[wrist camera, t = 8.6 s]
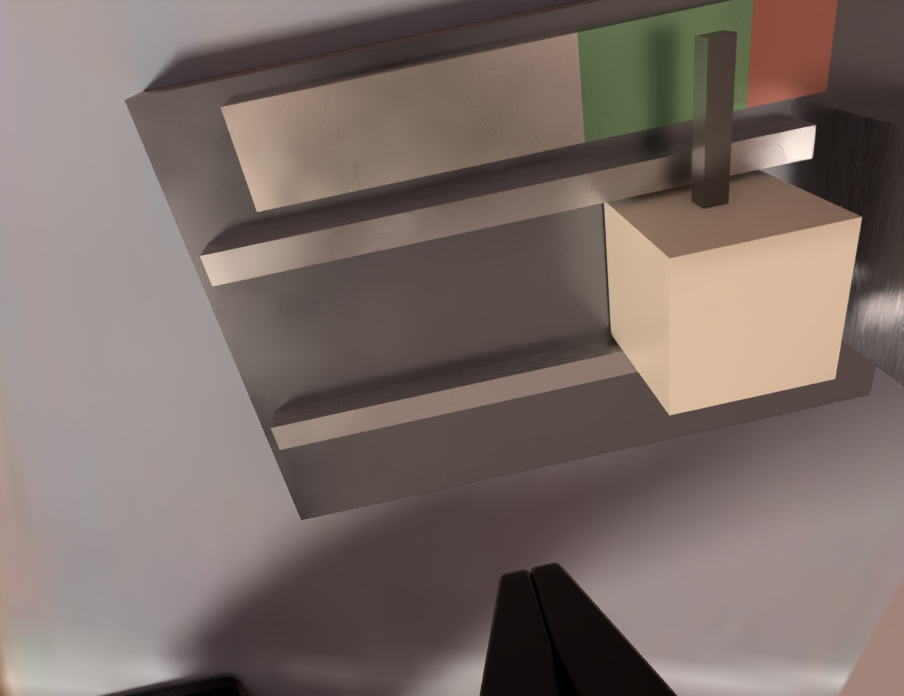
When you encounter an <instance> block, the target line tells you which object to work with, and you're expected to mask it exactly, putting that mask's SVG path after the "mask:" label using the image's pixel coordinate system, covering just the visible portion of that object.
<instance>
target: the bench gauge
mask: <svg viewBox="0 0 904 696" xmlns="http://www.w3.org/2000/svg"><path fill="white" fill-rule="evenodd" d="M721 30H726V31H735V32H737V47H736V66H735V85H734V105H733V124H732V144H731V163H730V176H731V175H736V174H741V173H745V172H750V171H755V170H761V171H763V172H766V173H768V174H770V175H772V176H774V177H776V178H779V179H781V180H783V181H785V182H787V183H789V184H792V185H794V186H796V187H798V188H800V189H803V190H805V191H807V192H809V193H811V194H813V195H816V196H818V197H820V198H822V199H824V200H826V201H829V202H831V203H833V204H835V205H837V206H839V207H842V208H844V209H846V210H848V211H850V212H853V213H855V214H857V215H859V216H861V217H862V220H861V226H860V233H859V239H858V245H857V251H856V257H855V263H854V269H853V275H852V281H851V287H850V293H849V299H848V305H847V311H846V317H845V323H844V329H843V335H842V341H841V347H840V353H839V359H838V365H837V371H836V377H835V379H833V380H828V381H824V382H819V383H815V384H810V385H805V386H801V387H796V388H792V389H787V390H783V391H778V392H774V393H769V394H765V395H760V396H755V397H751V398H746V399H742V400H737V401H733V402H728V403H724V404H719V405H715V406H710V407H706V408H701V409H696V410H692V411H687V412H683V413H678V414H674V415H669V414H668V413H667V411H666V410H665V409H664V407H663V406H662V404H661V403H660V402H659V400H658V399H657V397H656V396H655V395H654V393H653V392H652V390H651V389H650V388H649V386H648V385H647V383H646V382H645V381H644V379H643V378H642V376H641V375H640V374H639V372H638V371H637V369H636V368H635V367H634V365H633V364H632V362H631V361H630V360H629V358H628V357H627V356H626V354H625V353H624V351H623V350H622V349H621V347H620V346H619V344H618V343H617V342H616V340H615V339H614V337H613V336H612V335H611V322H610V303H609V285H608V266H607V247H606V228H605V210H604V203H605V202H610V201H615V200H619V199H624V198H629V197H633V196H638V195H643V194H647V193H652V192H657V191H661V190H666V189H671V188H675V187H680V186H685V185H689V184H692V148H693V98H694V48H695V36H697V35H702V34H706V33H711V32H716V31H721ZM125 102H126V104H127V107H128V109H129V111H130V114H131V116H132V119H133V121H134V123H135V126H136V128H137V130H138V133H139V135H140V138H141V140H142V142H143V145H144V147H145V150H146V152H147V154H148V157H149V159H150V161H151V164H152V166H153V169H154V171H155V173H156V176H157V178H158V180H159V183H160V185H161V188H162V190H163V192H164V195H165V197H166V199H167V202H168V204H169V207H170V209H171V211H172V214H173V216H174V218H175V221H176V223H177V226H178V228H179V230H180V233H181V235H182V237H183V240H184V242H185V245H186V247H187V249H188V252H189V254H190V256H191V259H192V261H193V264H194V266H195V268H196V271H197V273H198V276H199V278H200V280H201V283H202V285H203V287H204V290H205V292H206V295H207V297H208V299H209V302H210V304H211V306H212V309H213V311H214V314H215V316H216V318H217V321H218V323H219V325H220V328H221V330H222V333H223V335H224V337H225V340H226V342H227V344H228V347H229V349H230V352H231V354H232V356H233V359H234V361H235V363H236V366H237V368H238V371H239V373H240V375H241V378H242V380H243V382H244V385H245V387H246V390H247V392H248V394H249V397H250V399H251V402H252V404H253V406H254V409H255V411H256V413H257V416H258V418H259V421H260V423H261V425H262V428H263V430H264V432H265V435H266V437H267V440H268V442H269V444H270V447H271V449H272V451H273V454H274V456H275V459H276V461H277V463H278V466H279V468H280V470H281V473H282V475H283V478H284V480H285V482H286V485H287V487H288V489H289V492H290V494H291V497H292V499H293V501H294V504H295V506H296V508H297V511H298V513H299V516H300V518H301V520H304V519H309V518H313V517H318V516H322V515H327V514H331V513H336V512H341V511H345V510H350V509H354V508H359V507H363V506H368V505H372V504H377V503H381V502H386V501H390V500H395V499H399V498H404V497H408V496H413V495H418V494H422V493H427V492H431V491H436V490H440V489H445V488H449V487H454V486H458V485H463V484H467V483H472V482H476V481H481V480H485V479H490V478H495V477H499V476H504V475H508V474H513V473H517V472H522V471H526V470H531V469H535V468H540V467H544V466H549V465H553V464H558V463H562V462H567V461H571V460H576V459H581V458H585V457H590V456H594V455H599V454H603V453H608V452H612V451H617V450H621V449H626V448H630V447H635V446H639V445H644V444H648V443H653V442H658V441H662V440H667V439H671V438H676V437H680V436H685V435H689V434H694V433H698V432H703V431H707V430H712V429H716V428H721V427H725V426H730V425H735V424H739V423H744V422H748V421H753V420H757V419H762V418H766V417H771V416H775V415H780V414H784V413H789V412H793V411H798V410H802V409H807V408H811V407H816V406H821V405H825V404H830V403H834V402H839V401H843V400H848V399H852V398H857V397H861V396H866V395H870V390H871V385H872V380H873V375H874V370H875V365H876V366H878V367H879V368H880V369H882V370H883V371H884V372H886V373H887V374H888V375H890V376H891V377H893V378H894V379H895V380H897V381H898V382H899V383H901V384H902V385H903V386H904V0H582V1H577V2H572V3H567V4H562V5H558V6H553V7H548V8H543V9H538V10H534V11H529V12H524V13H519V14H514V15H510V16H505V17H500V18H495V19H490V20H486V21H481V22H476V23H471V24H466V25H462V26H457V27H452V28H447V29H442V30H438V31H433V32H428V33H423V34H418V35H414V36H409V37H404V38H399V39H394V40H390V41H385V42H380V43H375V44H370V45H366V46H361V47H356V48H351V49H346V50H342V51H337V52H332V53H327V54H322V55H318V56H313V57H308V58H303V59H298V60H294V61H289V62H284V63H279V64H274V65H270V66H265V67H260V68H255V69H250V70H246V71H241V72H236V73H231V74H226V75H222V76H217V77H212V78H207V79H202V80H198V81H193V82H188V83H183V84H178V85H174V86H169V87H164V88H159V89H154V90H150V91H145V92H141V93H139V94H137V95H134V96H132V97H130V98H128V99H126V100H125Z"/></svg>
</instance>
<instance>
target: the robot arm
mask: <svg viewBox="0 0 904 696" xmlns="http://www.w3.org/2000/svg"><path fill="white" fill-rule="evenodd" d="M144 696H249V695H248V694H247V692H246V690H245V689H244V687H243V685H242V684H241V682H240V681H239V680H238V679H236V678H233V677H224V678H219V679H215V680H210V681H206V682H202V683H197V684H193V685H188V686H184V687H179V688H175V689H170V690H166V691H161V692H157V693H153V694H148V695H144ZM480 696H677V695H676V694H675V692H674V691H673V690H672V689H671V688H670V687H669V686H668V685H667V684H666V682H665V681H664V680H663V679H662V678H661V677H660V676H659V675H658V673H657V672H656V671H655V670H654V669H653V668H652V667H651V666H650V664H649V663H648V662H647V661H646V660H645V659H644V658H643V657H642V655H641V654H640V653H639V652H638V651H637V650H636V649H635V648H634V647H633V645H632V644H631V643H630V642H629V641H628V640H627V639H626V638H625V636H624V635H623V634H622V633H621V632H620V631H619V630H618V629H617V627H616V626H615V625H614V624H613V623H612V622H611V621H610V620H609V619H608V617H607V616H606V615H605V614H604V613H603V612H602V611H601V610H600V608H599V607H598V606H597V605H596V604H595V603H594V602H593V601H592V599H591V598H590V597H589V596H588V595H587V594H586V593H585V592H584V590H583V589H582V588H581V587H580V586H579V585H578V584H577V583H576V582H575V580H574V579H573V578H572V577H571V576H570V575H569V574H568V573H567V571H566V570H565V569H564V568H563V567H562V566H561V565H559V564H558V563H551V564H546V565H542V566H537V567H534V568H532V569H531V571H530V572H529V571H527V570H519V571H515V572H510V573H506V574H503V575H502V576H501V577H500V580H499V585H498V590H497V596H496V602H495V608H494V614H493V620H492V626H491V632H490V637H489V643H488V649H487V655H486V661H485V667H484V673H483V679H482V684H481V690H480Z"/></svg>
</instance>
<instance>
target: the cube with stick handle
mask: <svg viewBox="0 0 904 696" xmlns="http://www.w3.org/2000/svg"><path fill="white" fill-rule="evenodd" d="M736 47H737V32H735V31H726V30H721V31H716V32H711V33H706V34H702V35H697V36H695V48H694V98H693V148H692V184H689V185H685V186H680V187H675V188H671V189H666V190H661V191H657V192H652V193H647V194H643V195H638V196H633V197H629V198H624V199H619V200H615V201H610V202H605V203H604V210H605V228H606V247H607V266H608V285H609V303H610V322H611V335H612V336H613V337H614V339H615V340H616V342H617V343H618V344H619V346H620V347H621V349H622V350H623V351H624V353H625V354H626V356H627V357H628V358H629V360H630V361H631V362H632V364H633V365H634V367H635V368H636V369H637V371H638V372H639V374H640V375H641V376H642V378H643V379H644V381H645V382H646V383H647V385H648V386H649V388H650V389H651V390H652V392H653V393H654V395H655V396H656V397H657V399H658V400H659V402H660V403H661V404H662V406H663V407H664V409H665V410H666V411H667V413H668V414H669V415H674V414H678V413H683V412H687V411H692V410H696V409H701V408H706V407H710V406H715V405H719V404H724V403H728V402H733V401H737V400H742V399H746V398H751V397H755V396H760V395H765V394H769V393H774V392H778V391H783V390H787V389H792V388H796V387H801V386H805V385H810V384H815V383H819V382H824V381H828V380H833V379H835V377H836V371H837V365H838V359H839V353H840V347H841V341H842V335H843V329H844V323H845V317H846V311H847V305H848V299H849V293H850V287H851V281H852V275H853V269H854V263H855V257H856V251H857V245H858V239H859V233H860V226H861V220H862V217H861V216H859V215H857V214H855V213H853V212H850V211H848V210H846V209H844V208H842V207H839V206H837V205H835V204H833V203H831V202H829V201H826V200H824V199H822V198H820V197H818V196H816V195H813V194H811V193H809V192H807V191H805V190H803V189H800V188H798V187H796V186H794V185H792V184H789V183H787V182H785V181H783V180H781V179H779V178H776V177H774V176H772V175H770V174H768V173H766V172H763V171H761V170H755V171H750V172H745V173H741V174H736V175H731V176H730V163H731V144H732V124H733V105H734V85H735V66H736Z"/></svg>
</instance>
